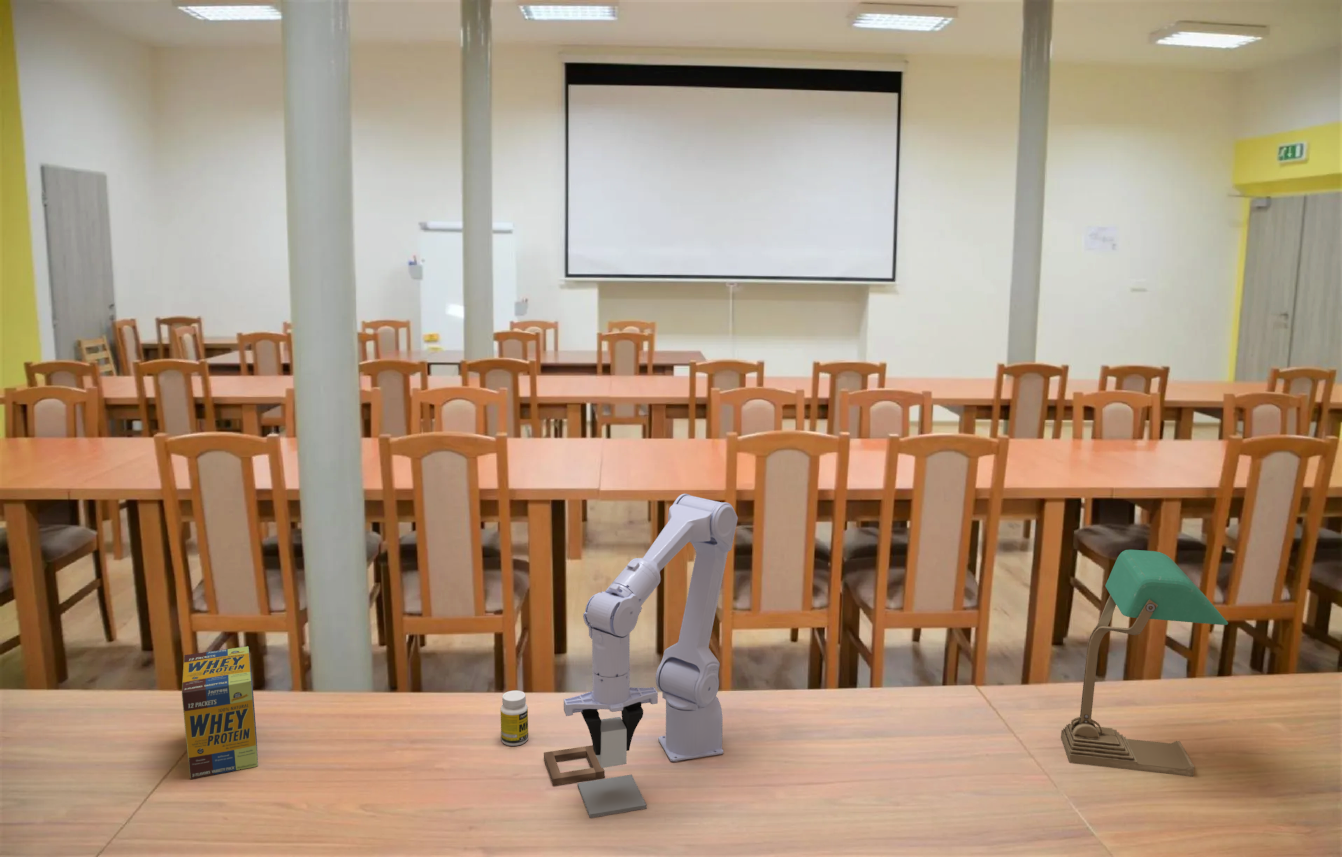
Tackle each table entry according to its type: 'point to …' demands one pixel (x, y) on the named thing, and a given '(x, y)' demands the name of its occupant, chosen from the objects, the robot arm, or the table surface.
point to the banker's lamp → (1142, 593)
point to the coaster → (611, 796)
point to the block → (612, 743)
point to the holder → (577, 775)
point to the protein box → (219, 712)
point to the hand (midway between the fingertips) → (611, 749)
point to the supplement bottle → (514, 718)
